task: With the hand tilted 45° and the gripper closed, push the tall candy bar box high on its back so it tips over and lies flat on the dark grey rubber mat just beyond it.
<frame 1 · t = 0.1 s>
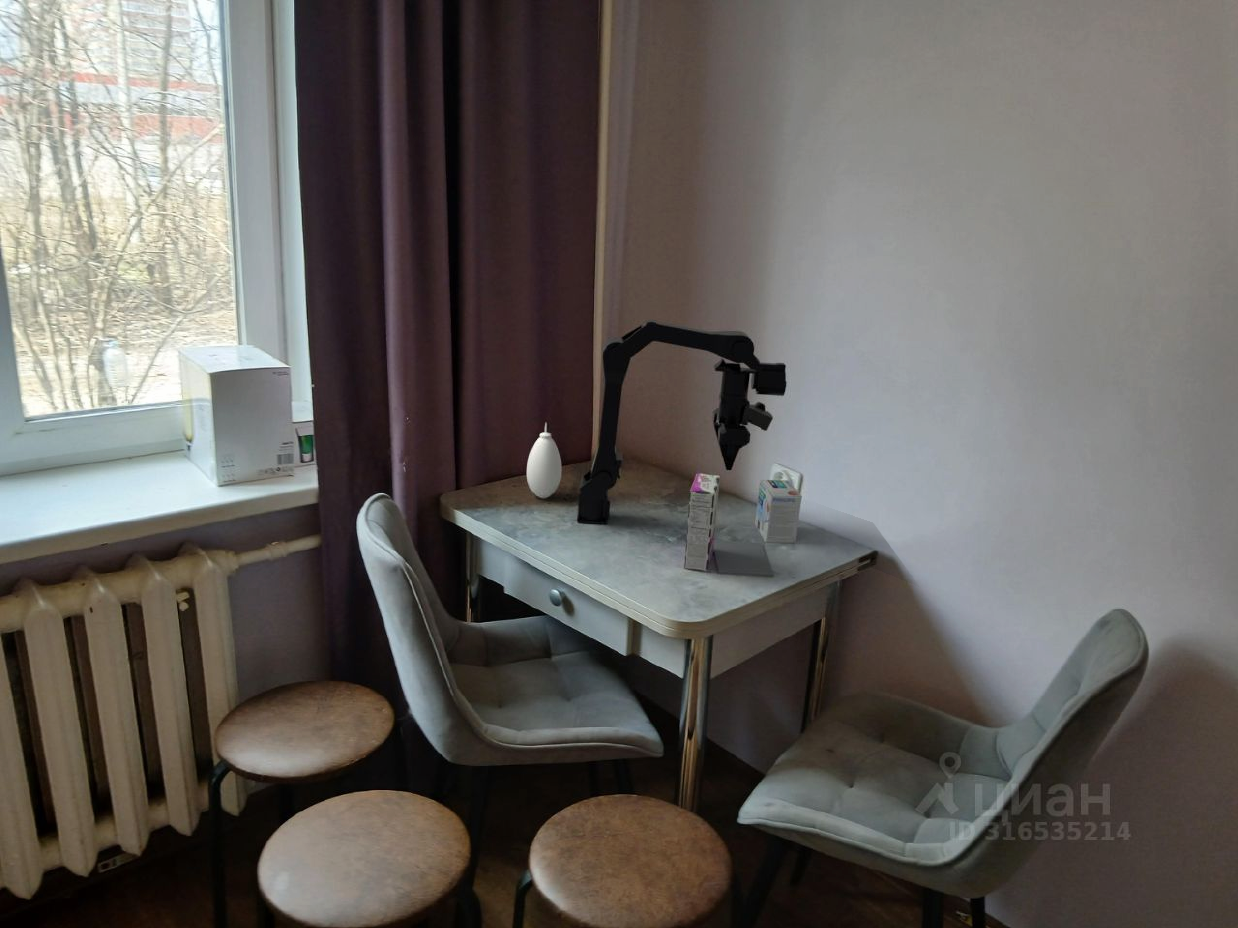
hand: (726, 463, 187), 15 cm above the table, tool pointing down, fingers open, 9 cm apart
white air blower bulb: (543, 497, 202), on the table
light bulb box: (774, 534, 189), on the table
candy bar box: (698, 560, 173), on the table
mat: (740, 558, 175), on the table
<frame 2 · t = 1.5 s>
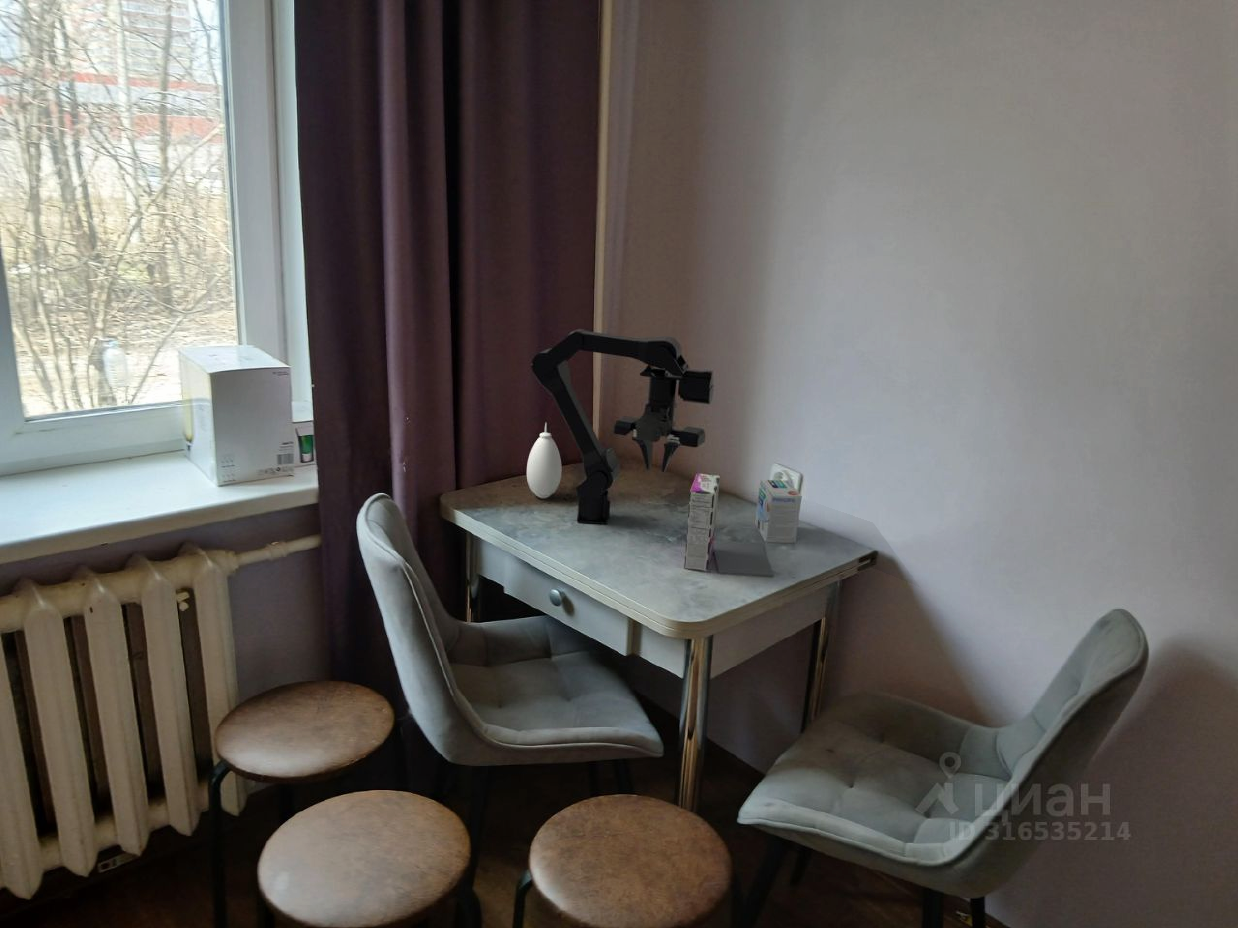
hand: (656, 470, 184), 13 cm above the table, tool pointing down, fingers open, 3 cm apart
nothing on the table moved.
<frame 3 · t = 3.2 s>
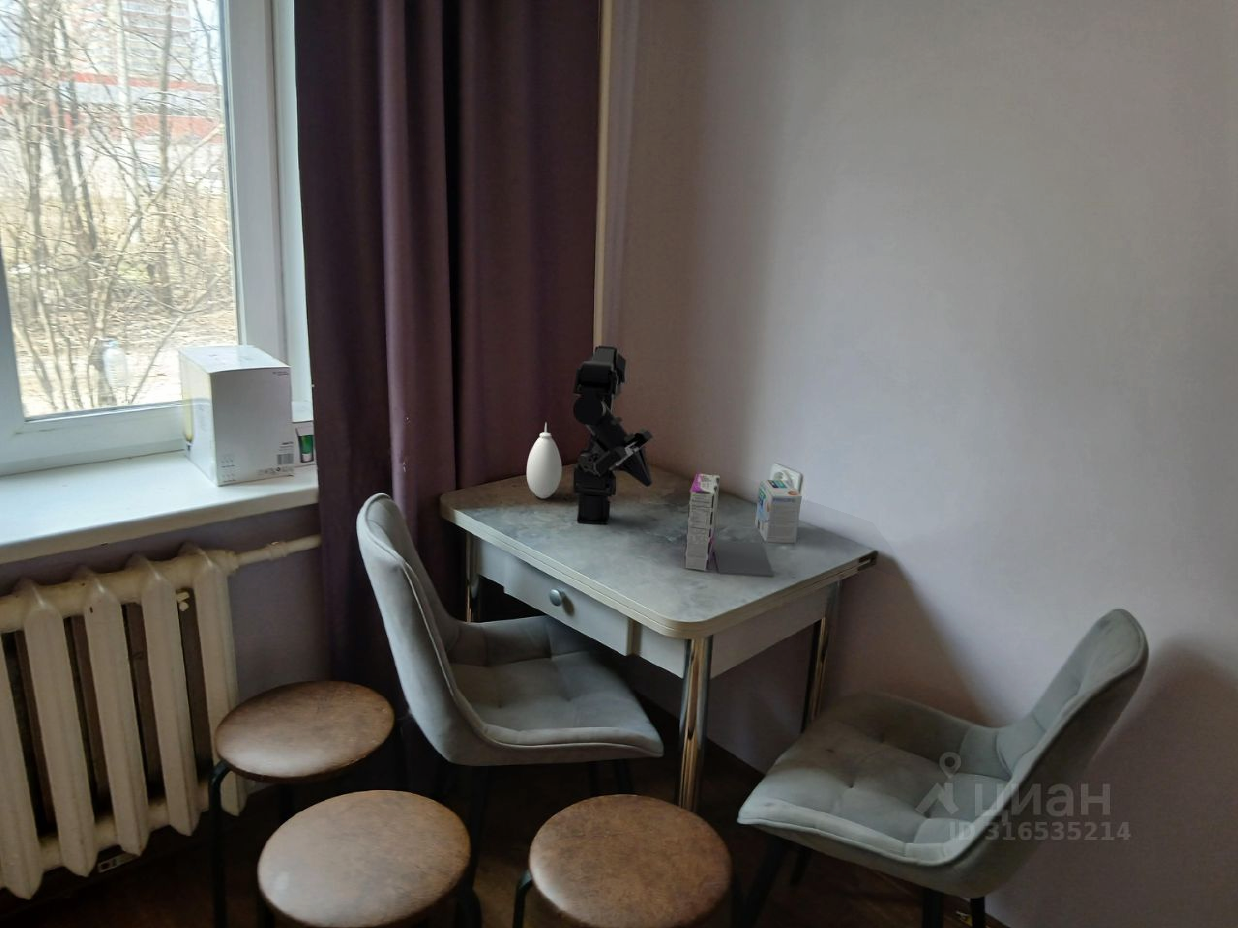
hand: (649, 485, 173), 13 cm above the table, tool tilted 45°, fingers closed
nothing on the table moved.
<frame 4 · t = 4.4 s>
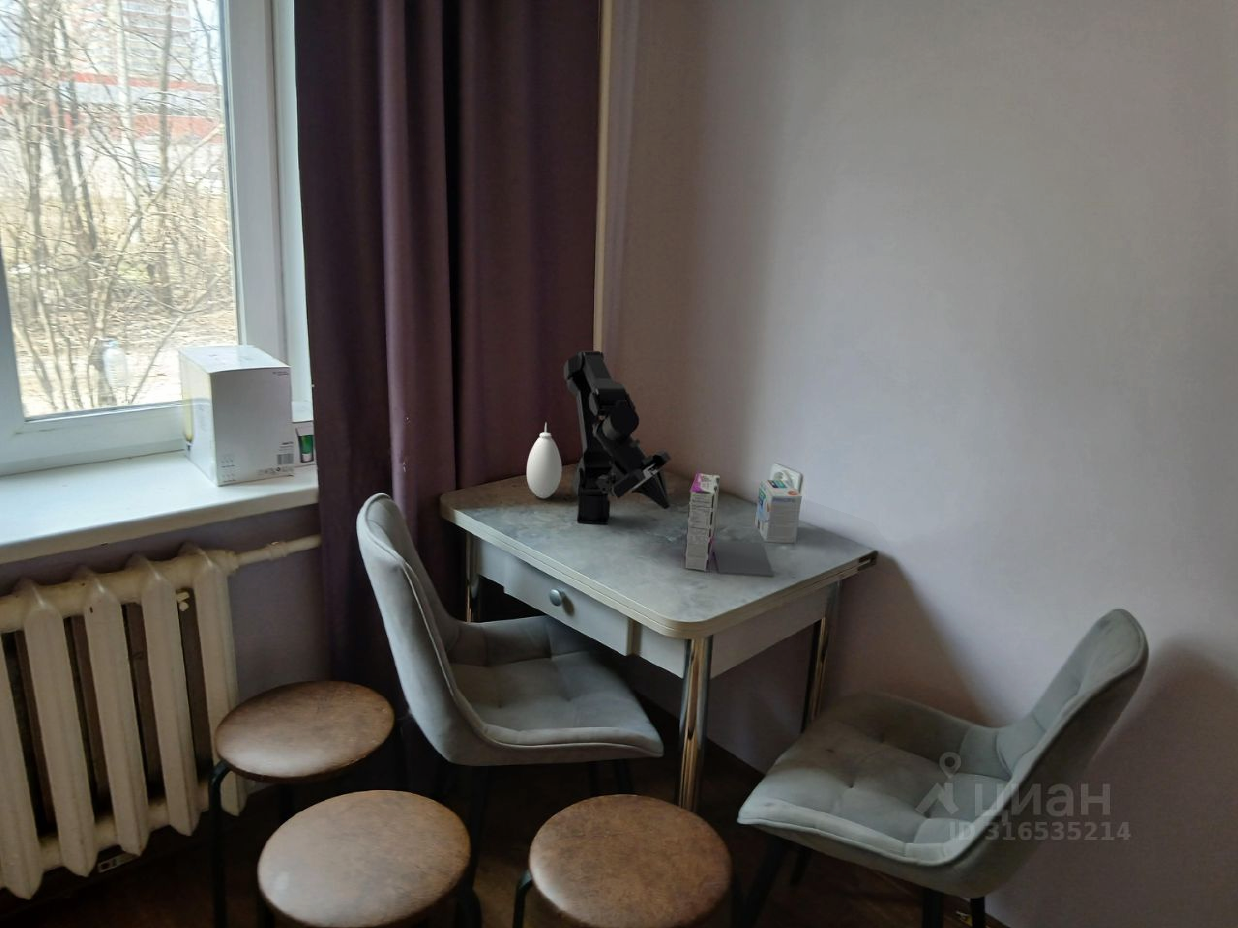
hand: (667, 507, 172), 10 cm above the table, tool tilted 45°, fingers closed
nothing on the table moved.
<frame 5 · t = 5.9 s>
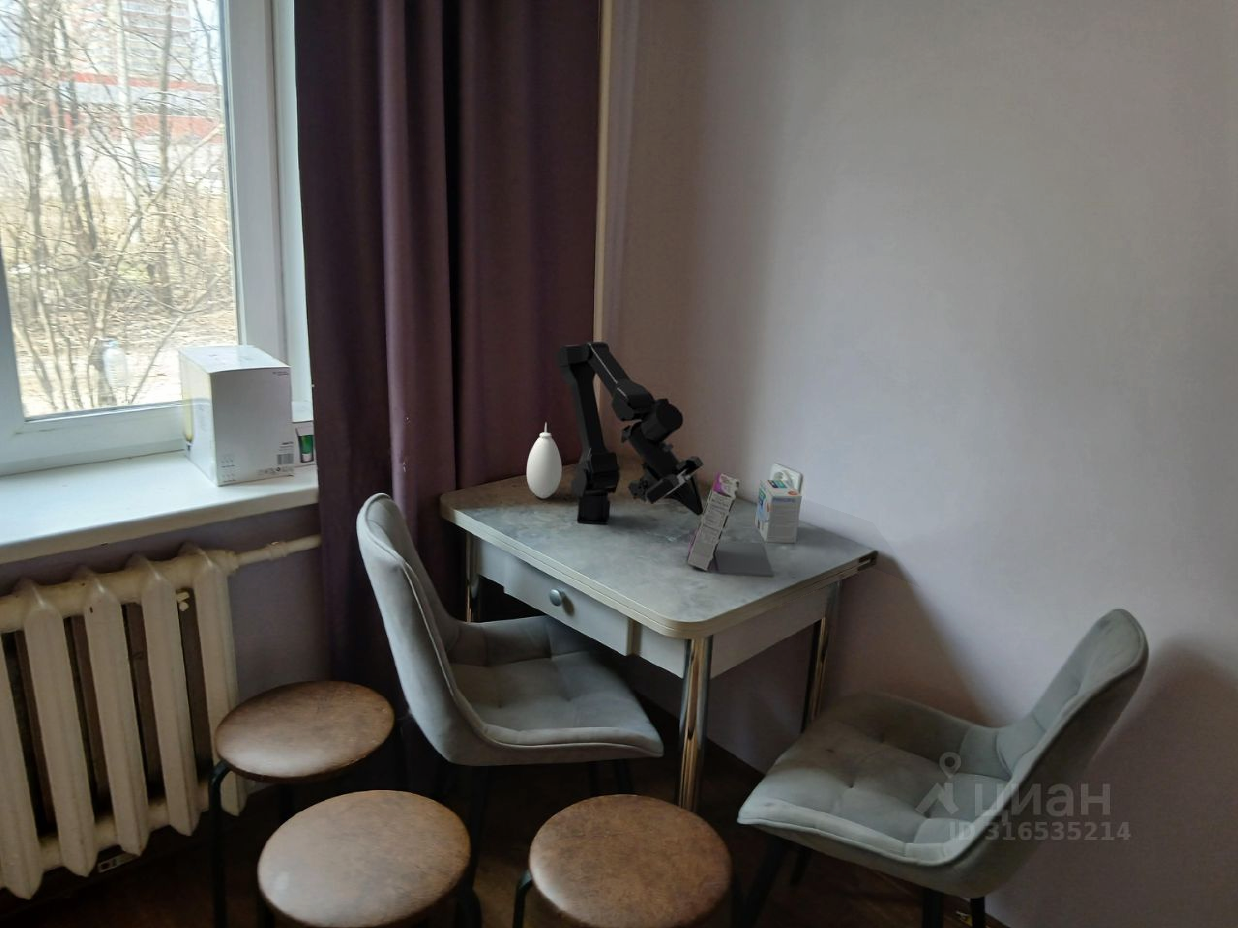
hand: (701, 514, 168), 10 cm above the table, tool tilted 45°, fingers closed
candy bar box: (698, 558, 173), on the table, touching gripper
everything else where it was.
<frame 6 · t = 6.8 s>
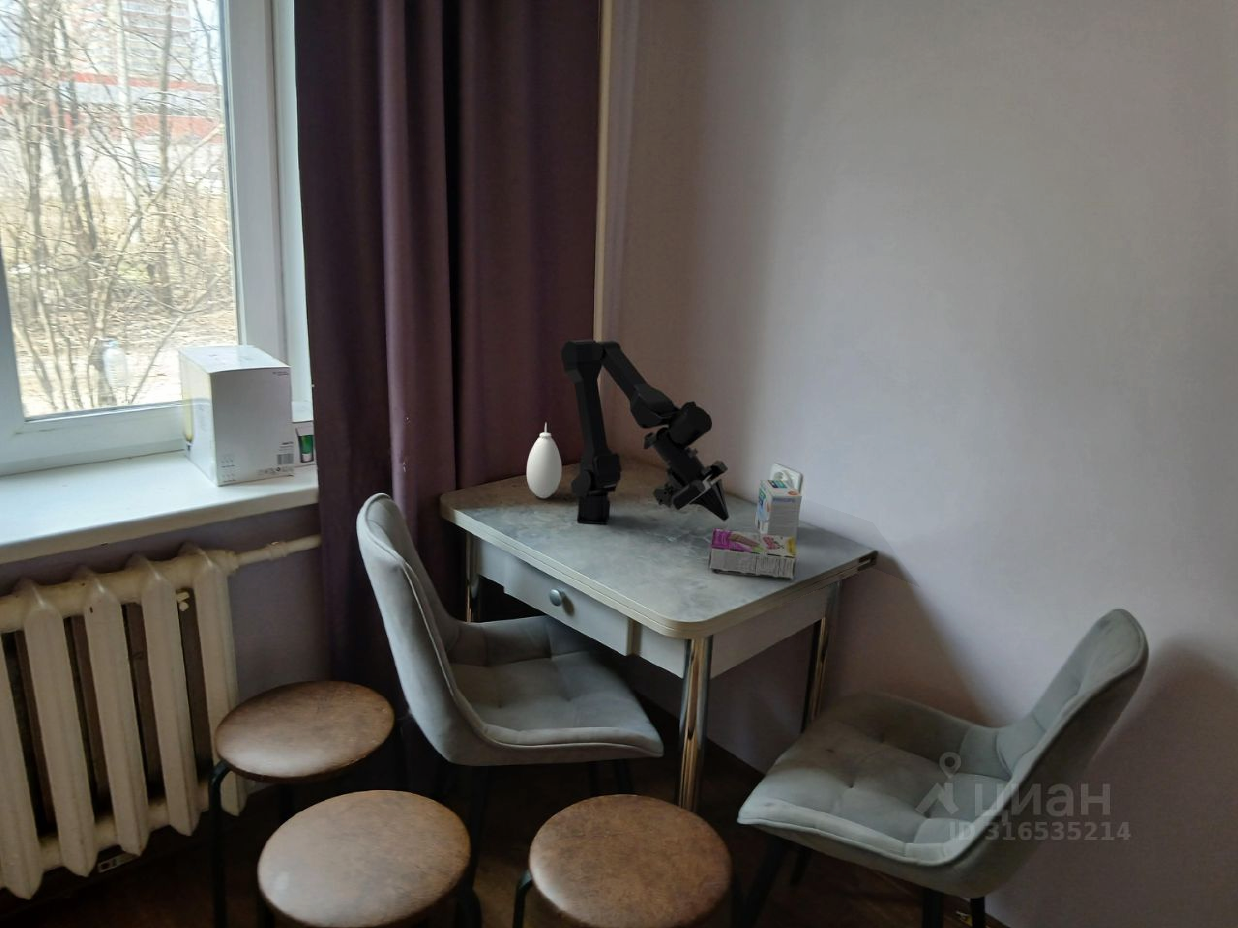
hand: (726, 519, 168), 10 cm above the table, tool tilted 45°, fingers closed
candy bar box: (709, 547, 172), point 3 cm above the table, touching mat
everything else where it was.
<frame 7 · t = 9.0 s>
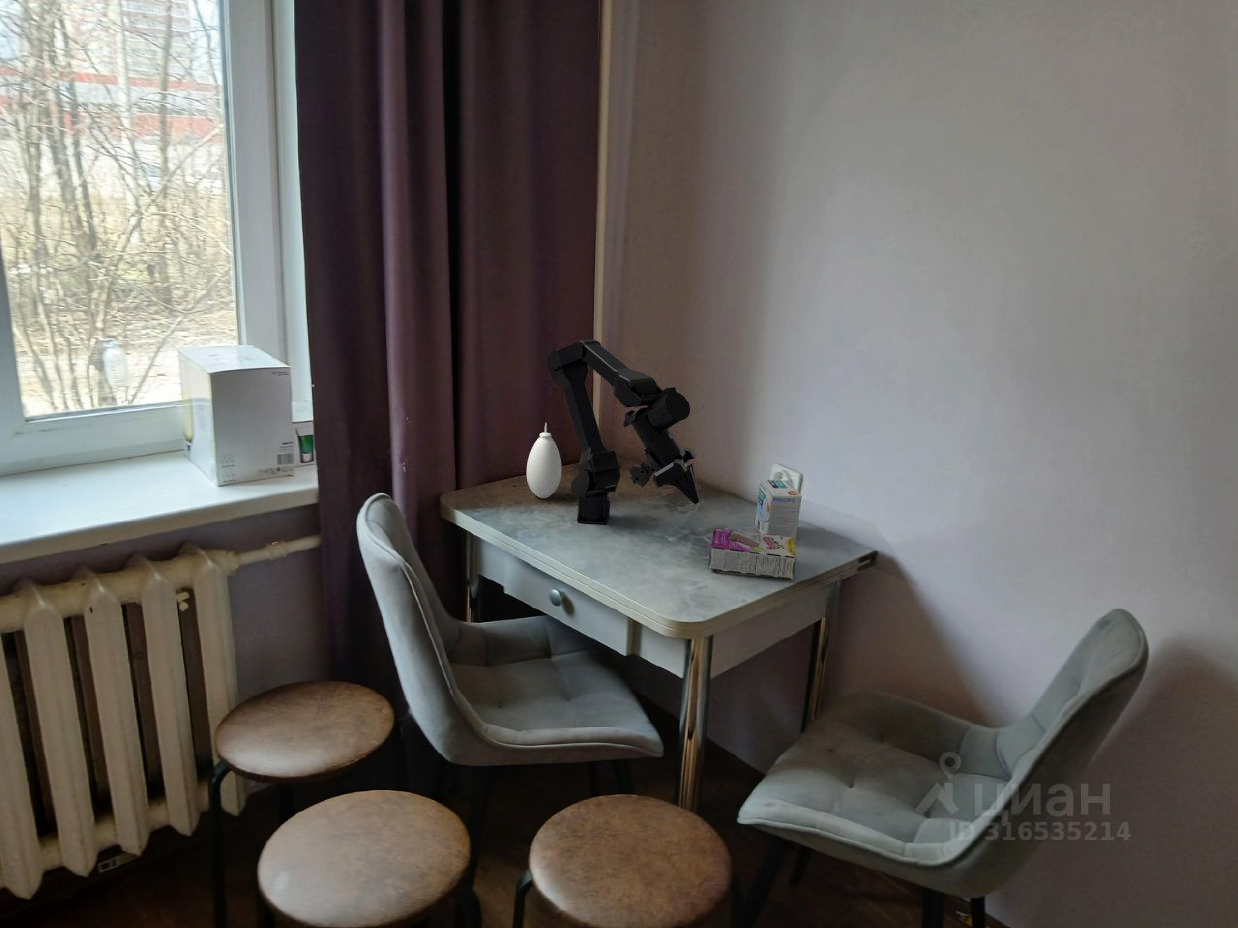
hand: (697, 502, 172), 11 cm above the table, tool tilted 40°, fingers closed
nothing on the table moved.
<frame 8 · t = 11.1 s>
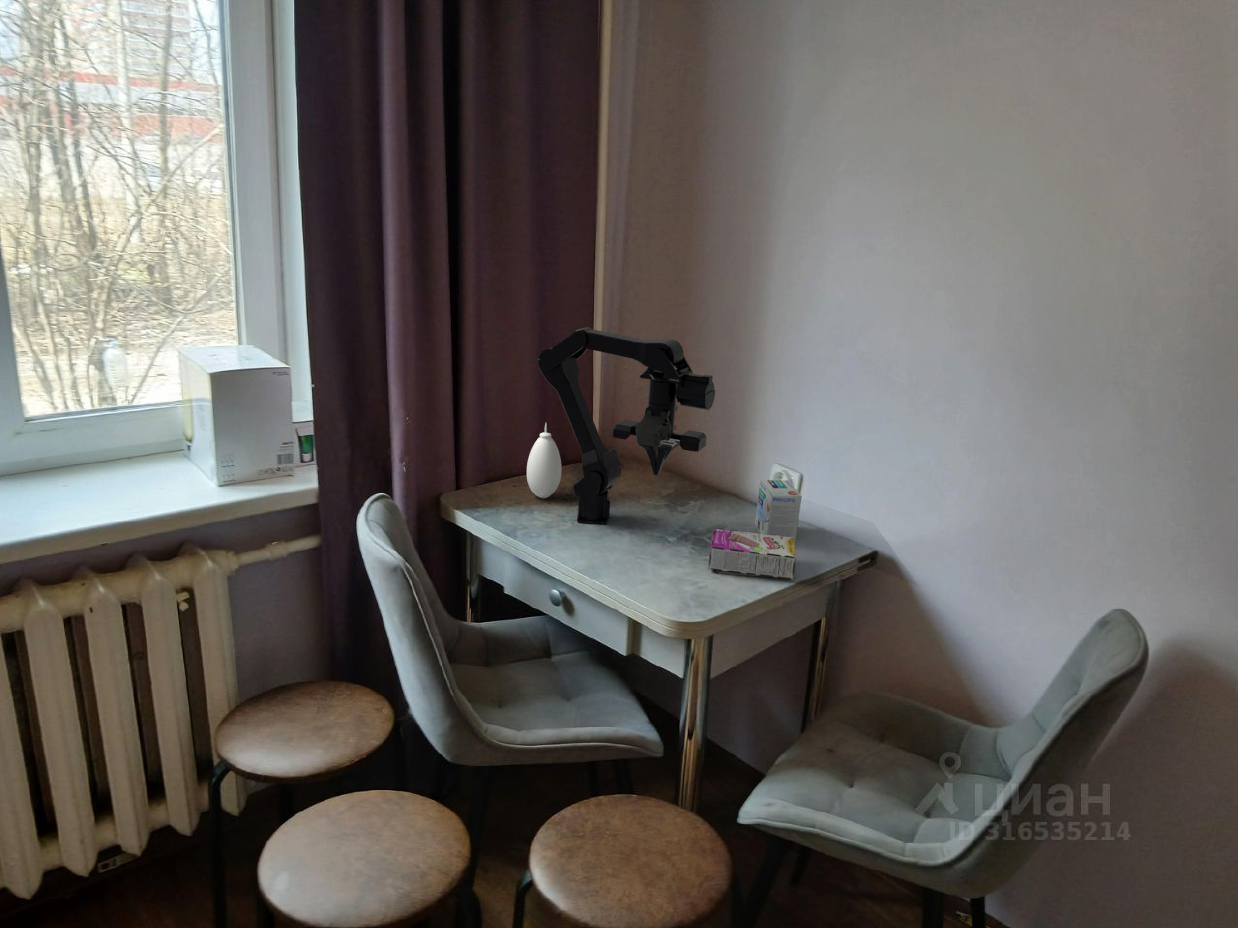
hand: (656, 474, 181), 13 cm above the table, tool pointing down, fingers closed
nothing on the table moved.
at the end: candy bar box tilted 91°; candy bar box touching mat; candy bar box inside the target area (5.0 cm from its centre), point 2.9 cm above the table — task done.
